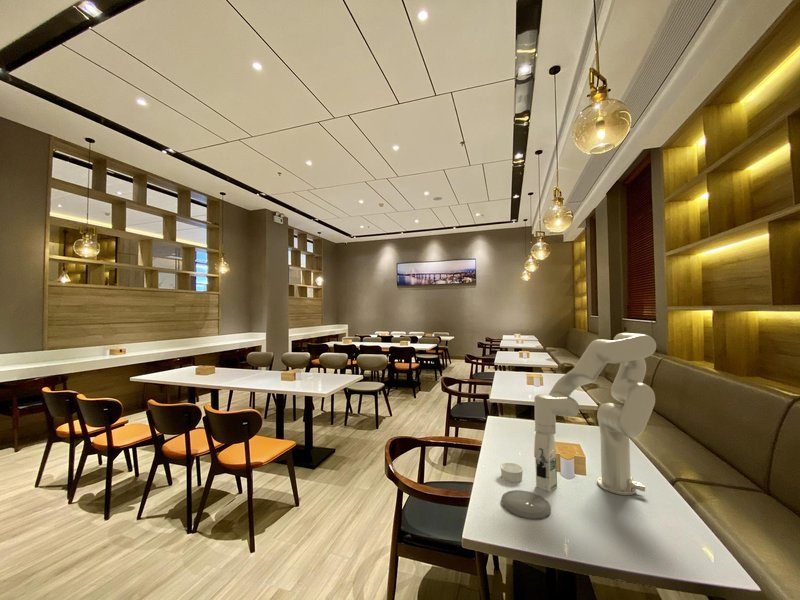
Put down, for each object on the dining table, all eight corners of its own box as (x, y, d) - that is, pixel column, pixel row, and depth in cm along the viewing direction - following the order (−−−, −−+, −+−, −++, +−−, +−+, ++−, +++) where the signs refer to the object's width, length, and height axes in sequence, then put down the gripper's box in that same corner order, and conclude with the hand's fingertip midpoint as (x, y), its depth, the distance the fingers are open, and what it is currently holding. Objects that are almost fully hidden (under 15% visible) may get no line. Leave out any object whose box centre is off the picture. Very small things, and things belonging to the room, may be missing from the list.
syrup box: (550, 492, 124) (549, 453, 124) (535, 486, 128) (534, 448, 129) (557, 487, 127) (556, 449, 128) (542, 481, 132) (541, 444, 133)
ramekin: (525, 484, 130) (524, 473, 130) (501, 482, 132) (501, 471, 132) (521, 474, 138) (521, 463, 139) (499, 471, 140) (499, 461, 140)
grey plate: (557, 504, 116) (557, 501, 116) (541, 526, 104) (540, 522, 104) (512, 488, 126) (512, 485, 126) (493, 506, 115) (493, 502, 115)
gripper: (543, 420, 138) (543, 462, 137) (526, 430, 125) (527, 477, 124) (562, 424, 133) (563, 468, 132) (547, 435, 120) (548, 484, 119)
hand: (545, 472), depth 128 cm, fingers open, 9 cm apart
